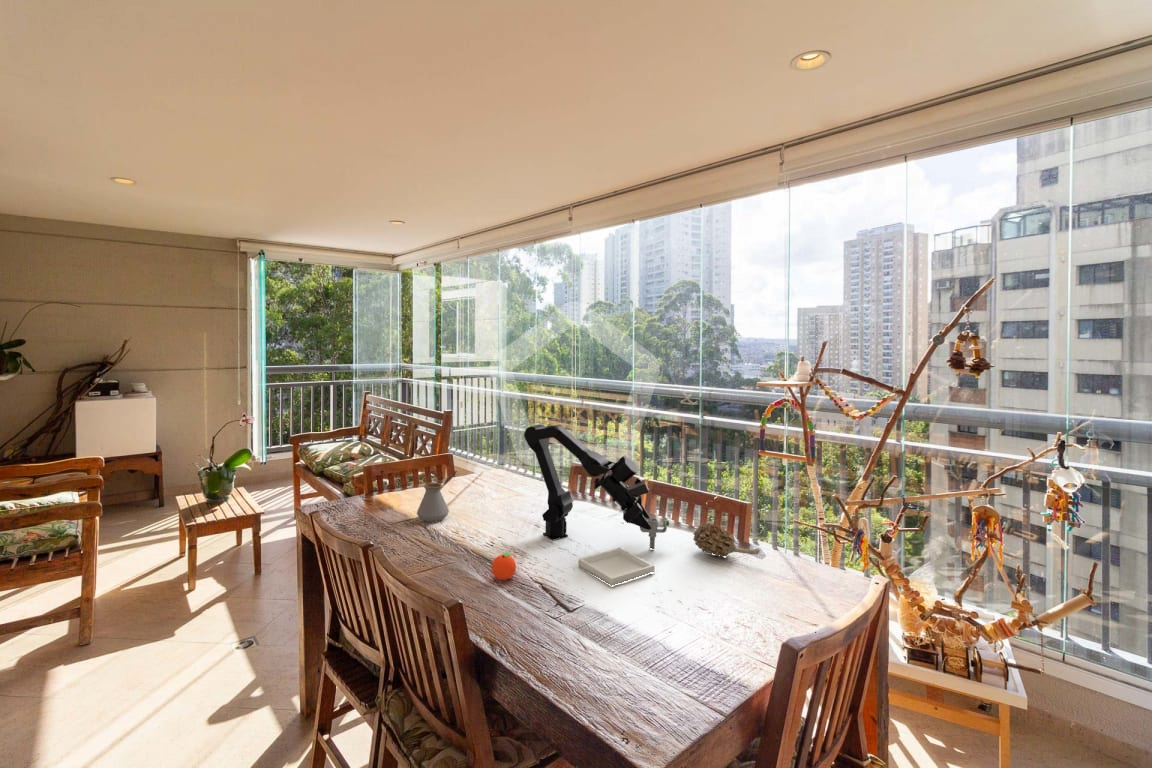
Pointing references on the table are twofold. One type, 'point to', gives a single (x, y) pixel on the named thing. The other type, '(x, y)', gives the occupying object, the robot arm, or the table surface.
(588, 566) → the parts tray
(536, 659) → the table surface
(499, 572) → the clementine
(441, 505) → the coffee pot
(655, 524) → the mechanical component
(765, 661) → the table surface
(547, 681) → the table surface
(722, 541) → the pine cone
